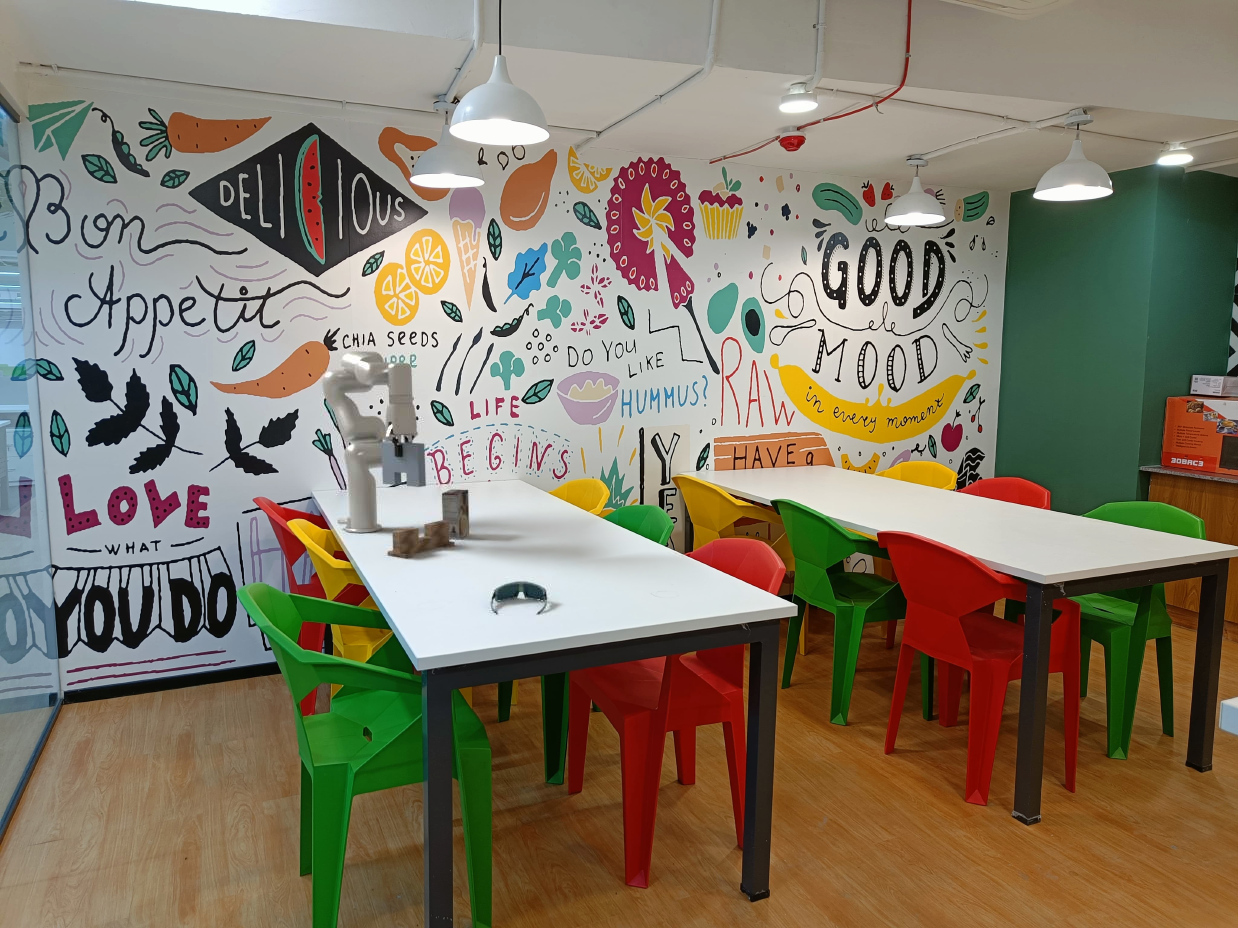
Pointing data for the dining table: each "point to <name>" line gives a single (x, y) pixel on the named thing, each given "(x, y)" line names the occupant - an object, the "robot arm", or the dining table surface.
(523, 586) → the sunglasses
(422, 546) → the slotted base board
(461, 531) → the coffee box
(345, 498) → the dining table surface
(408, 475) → the slate grey plank
